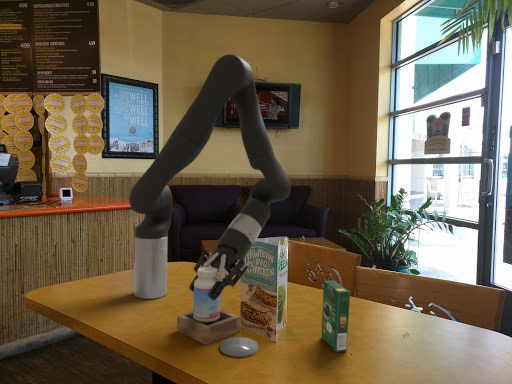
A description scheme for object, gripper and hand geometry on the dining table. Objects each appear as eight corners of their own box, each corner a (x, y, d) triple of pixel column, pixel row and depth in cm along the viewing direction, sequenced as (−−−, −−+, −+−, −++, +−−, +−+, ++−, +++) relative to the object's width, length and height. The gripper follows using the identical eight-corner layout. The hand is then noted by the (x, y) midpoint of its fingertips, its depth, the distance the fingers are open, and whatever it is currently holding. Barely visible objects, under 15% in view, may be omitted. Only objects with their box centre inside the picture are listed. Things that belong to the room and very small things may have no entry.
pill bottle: (215, 324, 85) (216, 273, 84) (188, 321, 86) (190, 271, 86) (223, 314, 91) (224, 267, 90) (198, 311, 92) (199, 265, 92)
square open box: (176, 330, 89) (177, 315, 88) (210, 319, 96) (211, 305, 96) (205, 345, 82) (206, 328, 82) (239, 331, 89) (240, 316, 89)
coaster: (212, 347, 81) (212, 345, 81) (239, 336, 86) (239, 334, 86) (239, 361, 75) (239, 358, 75) (266, 348, 81) (266, 345, 81)
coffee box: (348, 352, 80) (351, 290, 80) (335, 353, 80) (338, 290, 79) (332, 336, 88) (334, 279, 88) (320, 337, 87) (322, 280, 87)
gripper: (212, 223, 98) (172, 278, 90) (254, 230, 88) (213, 293, 80) (227, 241, 102) (190, 295, 94) (268, 250, 92) (231, 311, 84)
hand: (201, 294), depth 87 cm, fingers closed on pill bottle, 6 cm apart
